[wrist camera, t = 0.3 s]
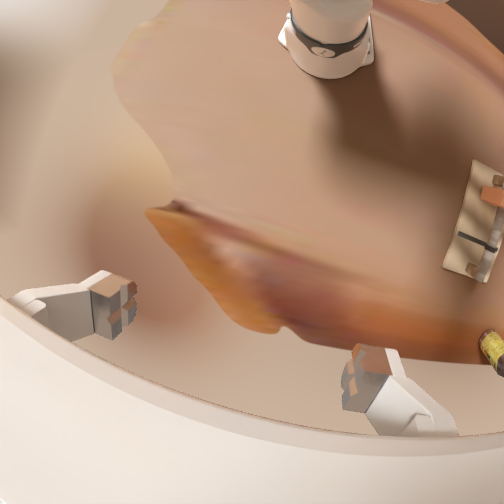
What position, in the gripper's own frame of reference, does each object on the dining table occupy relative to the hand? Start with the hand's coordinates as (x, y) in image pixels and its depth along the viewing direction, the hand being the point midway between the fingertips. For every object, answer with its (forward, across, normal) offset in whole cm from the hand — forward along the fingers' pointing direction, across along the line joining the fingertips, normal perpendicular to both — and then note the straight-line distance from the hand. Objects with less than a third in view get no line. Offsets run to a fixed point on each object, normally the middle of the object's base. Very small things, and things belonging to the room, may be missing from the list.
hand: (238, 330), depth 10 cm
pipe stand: (+47, -41, -5) cm, 63 cm away
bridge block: (+45, -41, -11) cm, 62 cm away
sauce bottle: (+47, -59, +21) cm, 78 cm away
